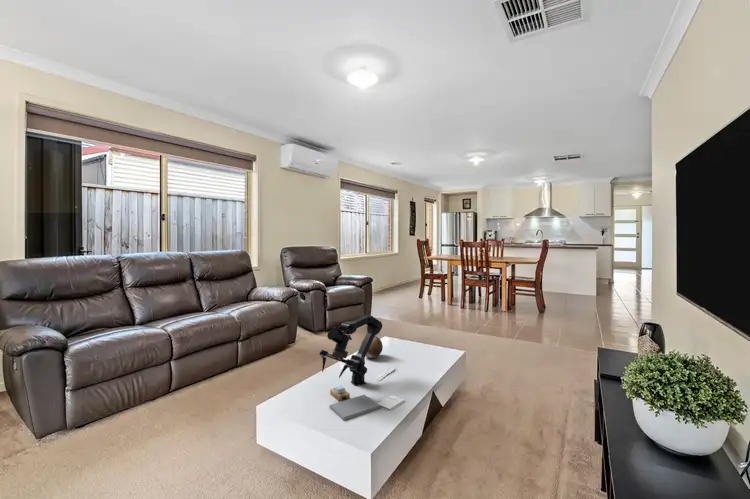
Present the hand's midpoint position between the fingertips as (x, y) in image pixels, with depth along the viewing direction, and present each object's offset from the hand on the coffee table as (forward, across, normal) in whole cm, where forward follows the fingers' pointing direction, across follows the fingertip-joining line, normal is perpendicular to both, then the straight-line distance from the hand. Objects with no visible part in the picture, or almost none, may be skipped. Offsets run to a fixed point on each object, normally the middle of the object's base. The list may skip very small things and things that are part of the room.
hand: (330, 374), depth 179 cm
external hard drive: (+4, +33, -6) cm, 34 cm away
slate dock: (+11, +16, -8) cm, 21 cm away
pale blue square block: (+6, +7, +3) cm, 10 cm away
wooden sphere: (-21, +25, +56) cm, 65 cm away
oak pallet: (+8, +8, +4) cm, 13 cm away
